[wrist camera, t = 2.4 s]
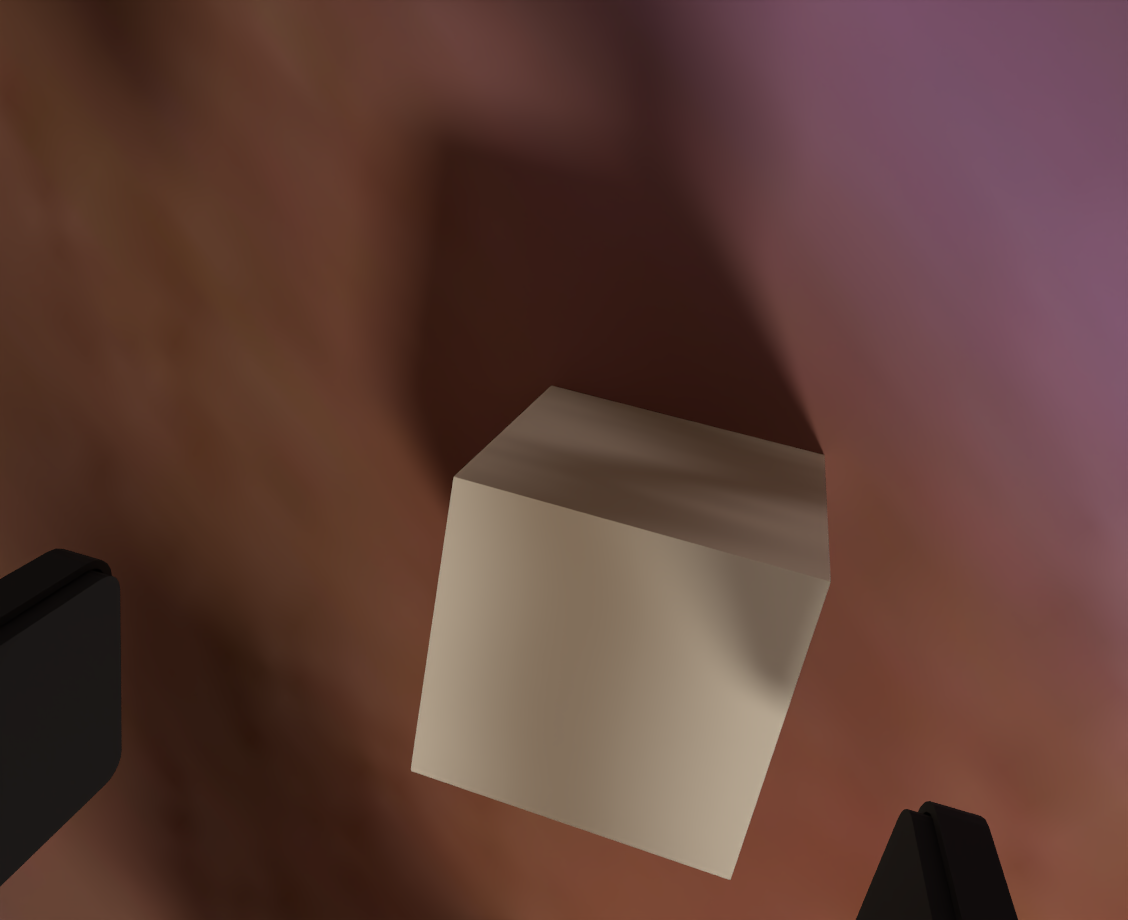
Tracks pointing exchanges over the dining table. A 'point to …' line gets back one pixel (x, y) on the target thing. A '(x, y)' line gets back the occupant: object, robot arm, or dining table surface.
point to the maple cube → (623, 622)
